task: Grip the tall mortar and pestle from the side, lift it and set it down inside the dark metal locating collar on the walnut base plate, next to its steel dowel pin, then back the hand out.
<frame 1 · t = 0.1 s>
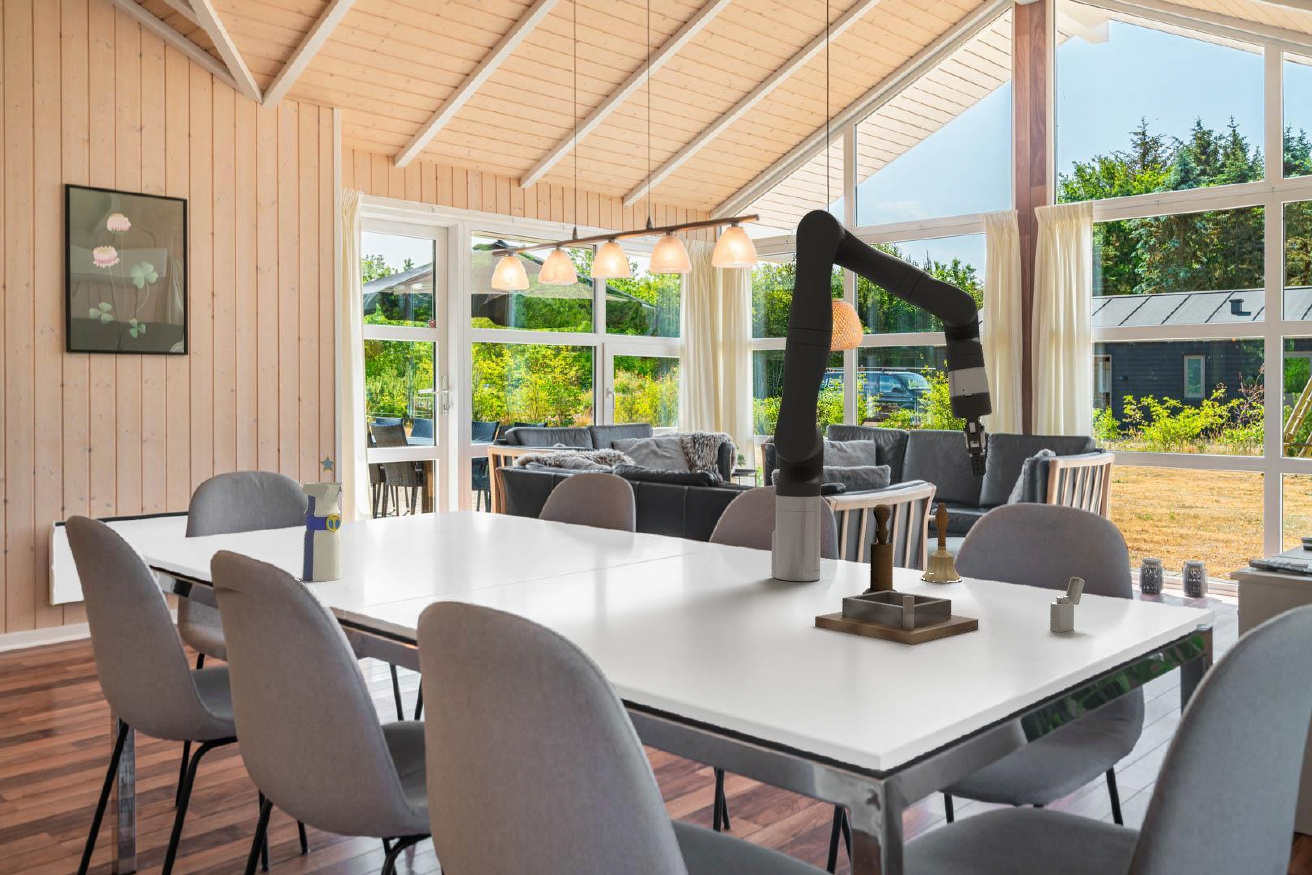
hand: (980, 475, 204), 22 cm above the table, tool pointing down, fingers open, 8 cm apart
collar plate: (896, 627, 164), on the table
cream gift bag: (323, 579, 211), on the table
hand bell: (941, 581, 216), on the table
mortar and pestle: (881, 607, 183), on the table
lighter: (1067, 630, 164), on the table
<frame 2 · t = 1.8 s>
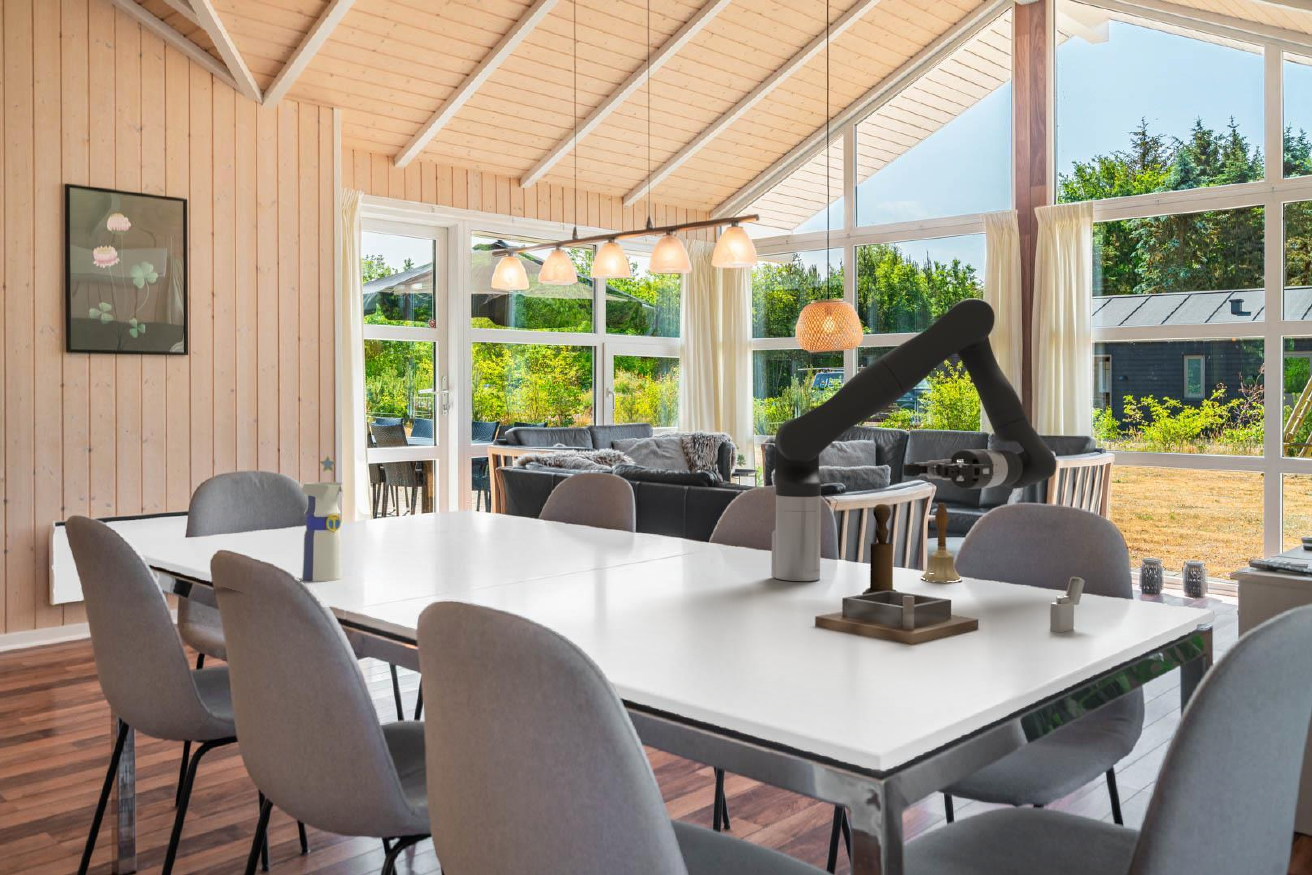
hand: (923, 471, 190), 24 cm above the table, tool horizontal, fingers open, 8 cm apart
nothing on the table moved.
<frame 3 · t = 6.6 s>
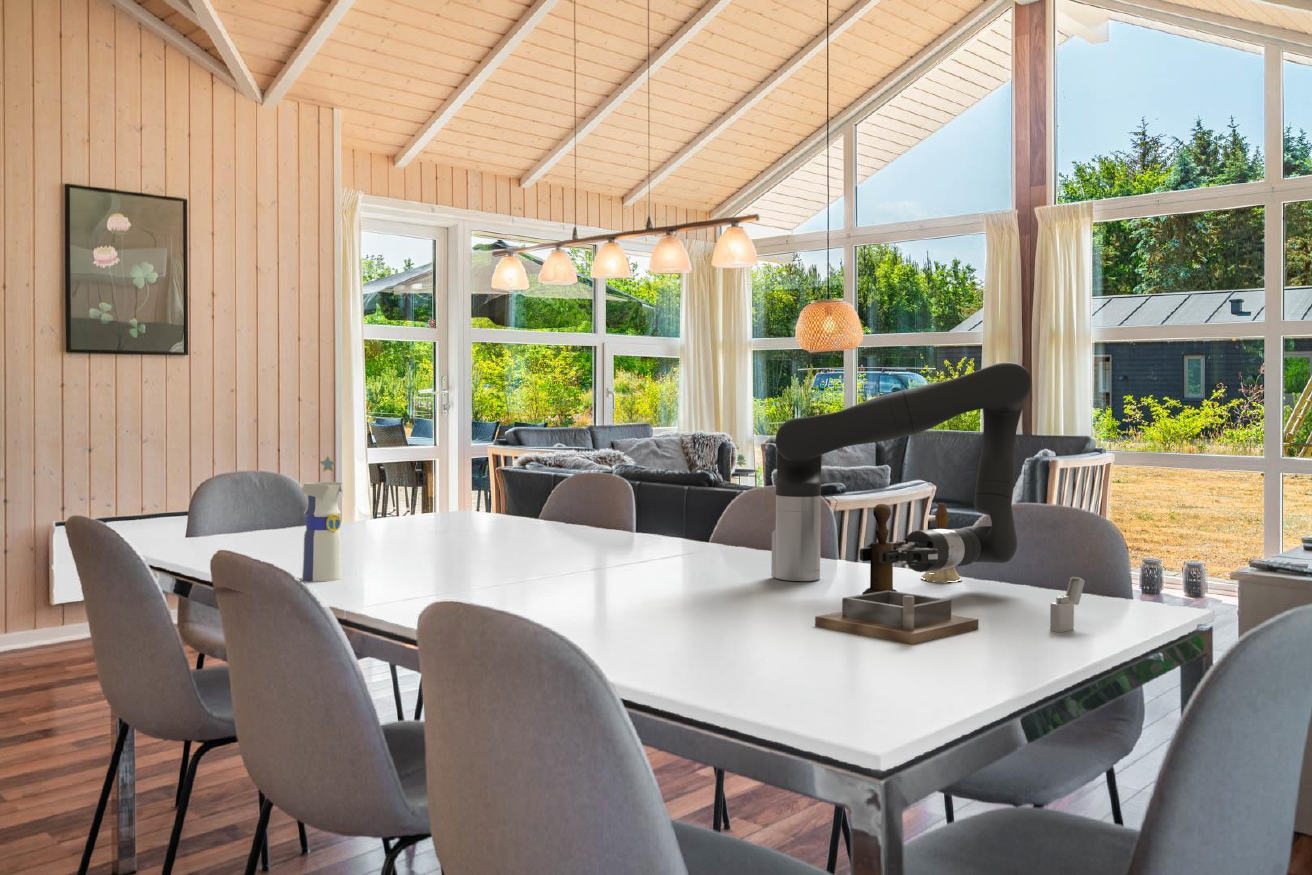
hand: (871, 556, 182), 9 cm above the table, tool horizontal, fingers closed on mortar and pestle, 4 cm apart
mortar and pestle: (881, 607, 183), on the table, touching gripper
everything else where it was.
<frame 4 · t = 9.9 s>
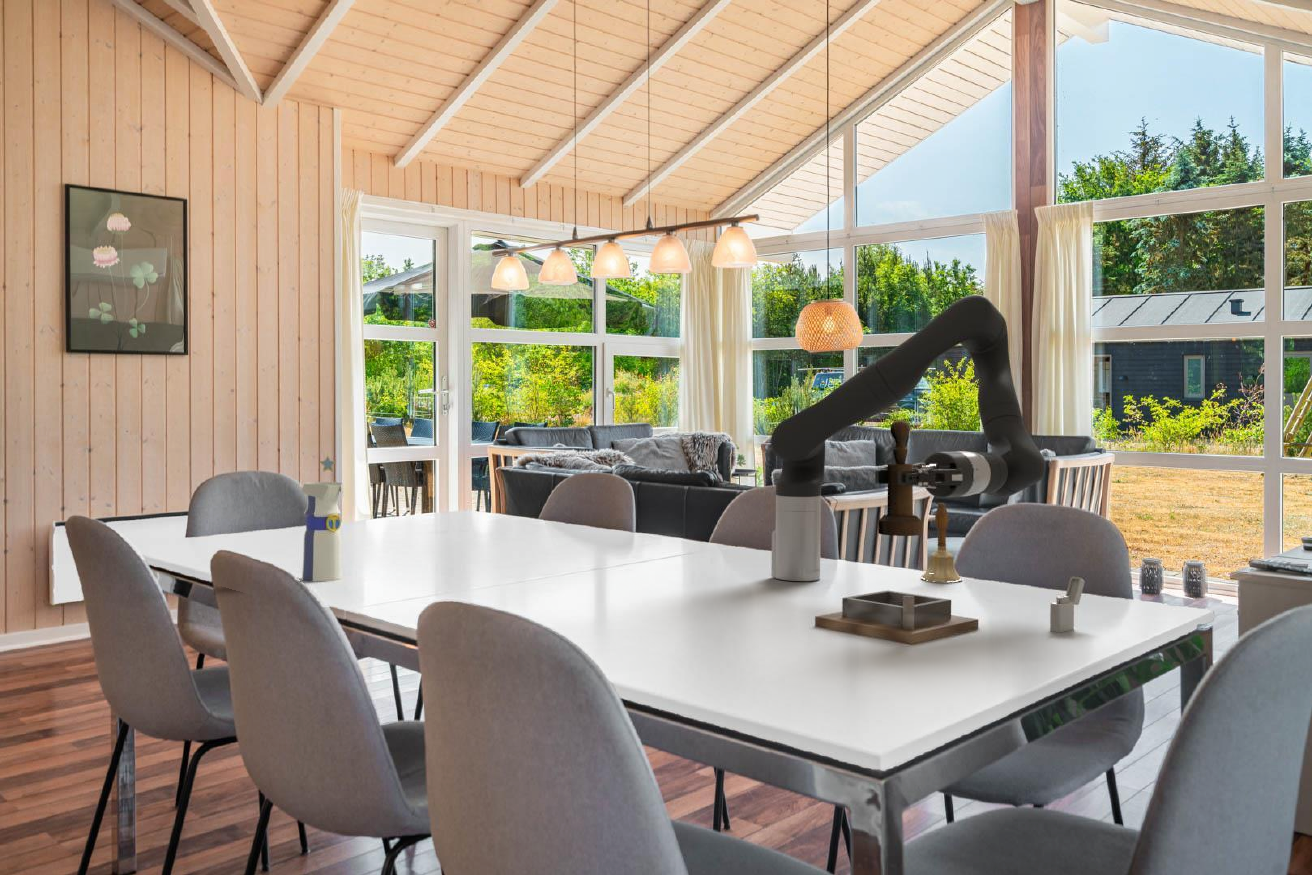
hand: (888, 477, 162), 24 cm above the table, tool horizontal, fingers closed on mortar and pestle, 4 cm apart
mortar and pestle: (900, 535, 164), point 14 cm above the table, touching gripper
everything else where it was.
when the fingers open (11 cm above the table, at t = 13.2 s): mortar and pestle stays where it is, resting on collar plate.
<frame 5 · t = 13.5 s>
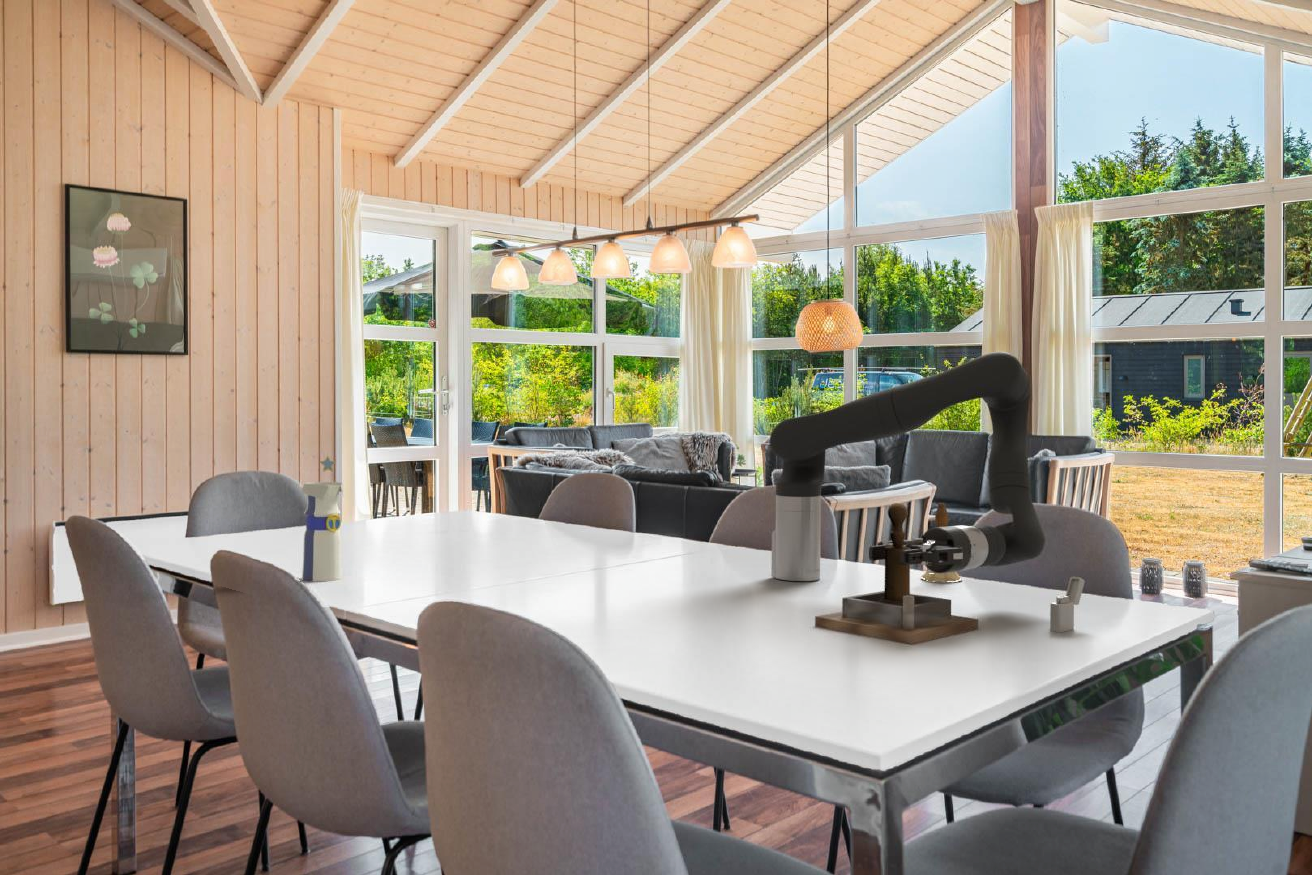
hand: (886, 555, 163), 11 cm above the table, tool horizontal, fingers open, 6 cm apart
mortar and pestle: (896, 618, 164), point 1 cm above the table, touching collar plate
everything else where it was.
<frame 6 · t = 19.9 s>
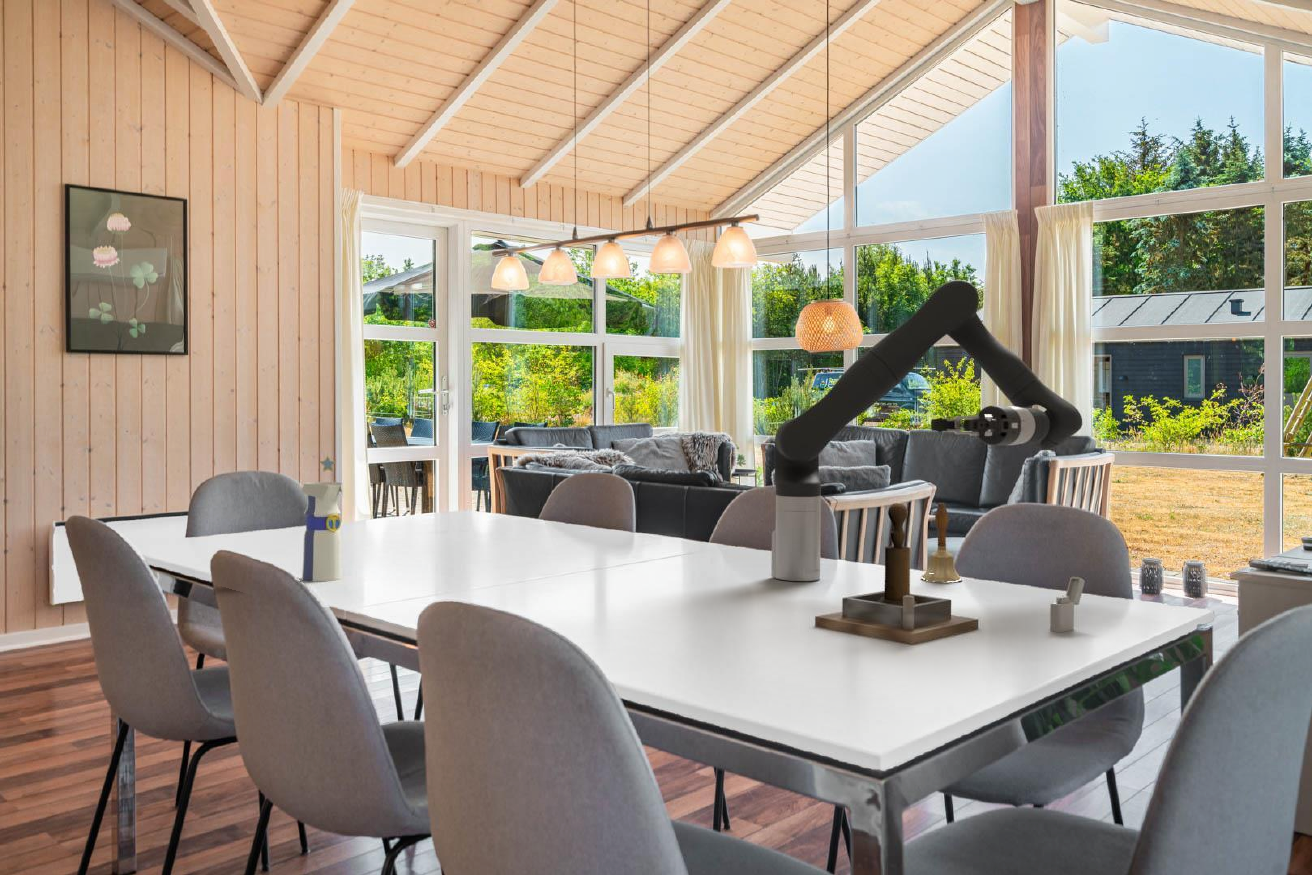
hand: (951, 425, 189), 32 cm above the table, tool horizontal, fingers open, 8 cm apart
nothing on the table moved.
at the end: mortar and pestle 0.2 cm off-centre on the collar plate, point 1.3 cm above the collar plate's base; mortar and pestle tilted 0°; the gripper is holding nothing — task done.
